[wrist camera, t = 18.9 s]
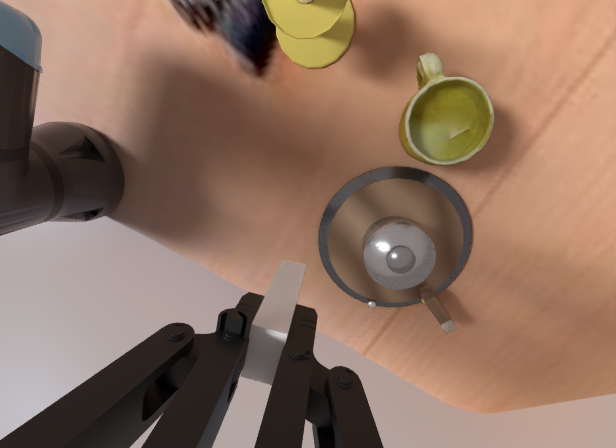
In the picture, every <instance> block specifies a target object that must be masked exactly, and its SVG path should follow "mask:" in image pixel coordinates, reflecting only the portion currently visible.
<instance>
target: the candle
mask: <svg viewBox="0 0 616 448" xmlns="http://www.w3.org/2000/svg"><path fill="white" fill-rule="evenodd" d="M262 1H263V4H264V6H265V9H266V12H267V14H268V17H269V19H270V20H271V21H272V22H273V23H274V25H275V26H276V35H277V38H278V40H279V43H280V45H281V48H282V50H283V52H284V53H285V54H286V55H287V56H288V57H289V58H290V59H291V60H292V61H293V62H294V63H296V64H298V65H301V66H303V67H305V68H323V67H325V66H327V65H329V64H331V63H333V62H335V61H337V59H338V58H339V57H340V56H341V55H342V54H343V53H344V52H345V50H346V49H347V48H348V45H349V43H350V40H351V38H352V35H353V32H354V11H353V8H352V5H351V2H350V0H262Z"/></svg>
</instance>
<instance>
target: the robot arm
mask: <svg viewBox="0 0 616 448" xmlns="http://www.w3.org/2000/svg"><path fill="white" fill-rule="evenodd" d="M41 46H42V36H41V33H40V30H39V28H38V27H37V25H36V24H35V23H34V21H33V20H32V19H31V18H30V17H28V16H27V15H26V14H24V13H23V12H21V11H19V10H17V9H15V8H14V7H12V6H10V5H8V4H6V3H4V2H2V1H0V236H1V235H4V234H7V233H10V232H14V231H17V230H20V229H23V228H27V227H30V226H33V225H36V224H40V223H43V222H47V221H59V222H85V221H90V220H94V219H97V218H100V217H102V216H105V215H107V214H109V213H110V212H111V211H113V210H114V209H115V207H116V206H117V205H118V203H119V201H120V199H121V197H122V193H123V188H124V177H123V171H122V168H121V164H120V162H119V159H118V157H117V155H116V154H115V152H114V150H113V149H112V147H111V146H110V145H109V144H108V142H107V141H106V140H105V139H104V138H103V137H102V136H101V135H99V134H98V133H97V132H95V131H94V130H92V129H90V128H89V127H86V126H84V125H81V124H78V123H72V122H48V123H44V124H41V125H38V126H35V127H33V121H34V114H35V107H36V99H37V92H38V85H39V77H40V73H42V71H43V70H42V67H41V66H40V61H41ZM306 266H307V265H306V264H303V263H299V262H295V261H291V260H288V259H284V258H283V260H282V262H281V264H280V266H279V268H278V270H277V272H276V274H275V276H274V278H273V281H272V283H271V285H270V287H269V289H268V291H267V293H266V295H265V296H262V295H258V294H255V293H251V292H249V293H247V294H245V295H244V296H242V298H241V299H240V301H239V303H238V304H237V306H236V308H232V309H226V310H224V311H222V312H221V313H220V314H219V316H218V322H217V328H216V332H214V333H210V334H194V333H195V332H194V330H193V328H192V327H191V326H190V325H188V324H185V323H172V324H169V325H167V326H165V327H163V328H161V329H160V330H159V331H157V332H156V333H154V334H153V335H151V336H150V337H148V338H147V339H146V340H144V341H143V342H141V343H140V344H138V345H137V346H135V347H134V348H133V349H131V350H130V351H128V352H127V353H125V354H124V355H123V356H121V357H120V358H118V359H117V360H115V361H114V362H112V363H111V364H109V365H108V366H107V367H105V368H104V369H102V370H101V371H99V372H98V373H97V374H95V375H94V376H92V377H91V378H89V379H88V380H87V381H85V382H84V383H82V384H81V385H79V386H78V387H76V388H75V389H74V390H72V391H71V392H69V393H68V394H66V395H65V396H63V397H62V398H60V399H59V400H58V401H56V402H55V403H53V404H52V405H50V406H49V407H47V408H46V409H45V410H43V411H42V412H40V413H39V414H37V415H36V416H34V417H33V418H32V419H30V420H29V421H27V422H26V423H24V424H23V425H22V426H20V427H19V428H17V429H16V430H14V431H13V432H11V433H10V434H8V435H7V436H6V437H4V438H3V439H1V440H0V448H129V447H130V446H131V445H132V444H133V443H134V442H135V441H136V440H137V439H138V438H139V437H140V436H141V435H142V434H143V433H144V432H145V431H146V430H147V429H148V428H149V427H150V426H151V425H152V424H153V423H154V422H155V421H156V420H157V419H158V418H159V416H161V415H162V413H163V412H164V413H163V415H162V416H161V418H160V419H159V421H158V422H157V424H156V426H155V427H154V429H153V430H152V432H151V433H150V435H149V436H148V438H147V440H146V441H145V443H144V444H143V446H142V447H141V448H212V446H213V443H214V441H215V438H216V436H217V434H218V431H219V429H220V426H221V424H222V422H223V419H224V417H225V414H226V412H227V410H228V407H229V404H230V402H231V400H232V398H233V395H234V393H235V390H236V388H237V384H238V379H239V376H240V374H241V376H242V377H245V378H249V379H252V380H256V381H259V382H263V383H267V384H270V385H272V388H271V391H270V395H269V398H268V402H267V405H266V409H265V412H264V416H263V419H262V423H261V426H260V430H259V433H258V437H257V440H256V444H255V447H254V448H302V440H303V433H304V425H305V419H306V420H308V421H309V422H311V423H312V424H313V425H312V429H313V436H314V443H315V448H383V445H382V442H381V439H380V436H379V433H378V430H377V427H376V424H375V421H374V418H373V416H372V412H371V410H370V407H369V404H368V401H367V398H366V395H365V392H364V389H363V386H362V383H361V381H360V379H359V377H358V375H357V374H356V373H355V372H354V371H352V370H350V369H349V368H346V367H343V366H338V367H334V368H332V369H331V370H329V369H327V368H326V367H324V366H323V365H321V364H320V363H319V362H318V361H317V360H316V358H315V357H314V354H313V346H314V339H315V331H316V323H317V317H318V316H317V313H316V311H315V309H313V308H309V307H305V306H302V305H298V304H297V301H298V297H299V293H300V289H301V285H302V281H303V277H304V273H305V270H306ZM241 371H242V373H241Z"/></svg>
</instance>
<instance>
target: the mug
mask: <svg viewBox="0 0 616 448" xmlns="http://www.w3.org/2000/svg"><path fill="white" fill-rule="evenodd" d="M417 80H418V86H419V91H418V92H417V93H416V94H415V95H414V96H413V97H412V98H411V99H410V101H409V102H408V103H407V105H406V107H405V109H404V111H403V113H402V117H401V121H400V125H399V137H400V141H401V144H402V146H403V148H404V150H405V151H406V152H407V153H408V154H409V155H410V156H411V157H413V158H414V159H416V160H419V161H421V162H424V163H427V164H432V165H444V166H448V165H452V164H457V163H461V162H463V161H466V160H468V159H470V158H471V157H473V156H474V155H475V154H477V153H478V152H480V151H481V150H482V148H483V147H484V146H485V144H486V143H487V141H488V140H489V138H490V135H491V133H492V130H493V126H494V108H493V104H492V101H491V99H490V96H489V95H488V93H487V92H486V90H485V89H484V88H483V87H482V86H481V85H479V84H478V83H476V82H475V81H473V80H471V79H469V78H465V77H446V76H445V75H444V71H443V64H442V62H441V59H440V57H439V56H437V54H435V53H426V54H423V55H421V56H419V58H418V61H417Z"/></svg>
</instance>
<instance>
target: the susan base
mask: <svg viewBox="0 0 616 448" xmlns="http://www.w3.org/2000/svg"><path fill="white" fill-rule="evenodd" d="M390 178H403V179H411V180H415V181H419V182H422V183H424V184H427V185H429V186H431V187H432V188H434V189H436V190H437V191H439V192H440V193H441V194H443V195H444V196H445V197H446V198H447V199H448V200H449V201H450V202H451V204H452V205H453V206H454V208H455V209H456V211H457V213H458V215H459V217H460V220H461V223H462V228H463V236H464V242H463V250H462V253H461V257H460V260H459V262H458V264H457V266H456V268H455V270H454V271H453V273H452V274H451V275H450V277H449V278H448V279H447V280H446V281H445V282H444V283H443V284H442V285H441V286H439V287H438V288H437V289H436V290H434V291H433V292H434V293H435V295H436V294H438V293H439V292H441V291H442V290H444V289H445V288H446V287H447V286H448V285H450V283H451V282H452V281H453V280H454V279H455V278H456V277H457V275H458V274H459V273H460V271H461V270H462V268H463V266H464V264H465V262H466V260H467V257H468V254H469V251H470V247H471V239H472V229H471V222H470V217H469V214H468V211H467V209H466V207H465V205H464V203H463V201H462V200H461V198H460V197H459V195H458V194H457V193H456V192H455V190H454V189H453V188H451V187H450V186H449V185H448V184H447V183H446V182H444V181H443V180H441V179H440V178H438V177H437V176H434V175H432V174H430V173H428V172H426V171H422V170H419V169H416V168H410V167H398V166H395V167H384V168H380V169H375V170H372V171H369V172H366V173H364V174H362V175H360V176H358V177H356V178H354V179H353V180H351V181H350V182H349V183H347V184H346V185H345V186H344V187H342V188H341V189H340V190H339V191H338V192H337V194H336V195H335V196H334V197H333V198H332V200H331V201H330V203H329V204H328V206H327V208H326V210H325V212H324V214H323V217H322V220H321V224H320V229H319V239H318V242H319V251H320V256H321V259H322V262H323V265H324V267H325V269H326V271H327V273H328V274H329V276H330V277H331V278H332V280H333V281H334V282H335V283H336V284H337V285H338V286H339V287H340V288H341V289H342V290H343V291H344V292H346V293H347V294H349V295H350V296H352V297H353V298H355V299H357V300H360V301H362V302H365V303H368V307H369V308H371V309H373V308H375V307H376V306H381V307H403V306H409V305H413V304H417V303H420V302H422V303H423V304H426V303H425V302H424V300H423V298H422V297H421V298H418V299H415V300H411V301H406V302H398V303H387V302H379V301H375V300H371V299H369V298H366V297H364V296H362V295H360V294H358V293H356V292H355V291H353V290H352V289H350V288H349V287H348V286H347V285H346V284H345V283H344V282H343V281H342V280H341V279H340V278H339V276H338V275H337V273H336V272H335V270H334V268H333V265H332V263H331V260H330V257H329V251H328V236H329V230H330V226H331V223H332V220H333V218H334V216H335V214H336V212H337V210H338V209H339V207H340V206H341V205H342V203H343V202H344V201H345V200H346V199H347V198H348V197H349V196H350V195H352V194H353V193H354V192H355V191H357V190H358V189H360V188H362V187H364V186H366V185H368V184H370V183H373V182H376V181H379V180H384V179H390Z"/></svg>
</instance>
